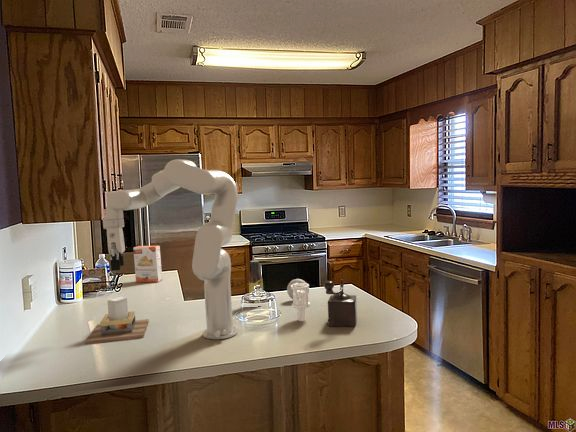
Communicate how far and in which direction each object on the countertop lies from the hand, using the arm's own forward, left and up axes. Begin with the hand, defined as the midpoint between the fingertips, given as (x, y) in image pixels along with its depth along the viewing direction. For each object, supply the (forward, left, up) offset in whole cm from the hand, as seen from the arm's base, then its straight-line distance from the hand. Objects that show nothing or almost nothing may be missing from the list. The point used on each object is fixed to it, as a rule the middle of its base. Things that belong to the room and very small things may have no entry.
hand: (117, 268), depth 180 cm
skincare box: (-1, +1, -24) cm, 24 cm away
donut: (+18, -74, -25) cm, 80 cm away
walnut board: (-1, +1, -25) cm, 25 cm away
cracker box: (+93, -1, -25) cm, 96 cm away
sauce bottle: (+18, -55, -25) cm, 63 cm away
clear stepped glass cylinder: (-11, -69, -25) cm, 74 cm away
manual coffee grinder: (-22, -82, -25) cm, 88 cm away
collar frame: (-1, +1, -24) cm, 24 cm away
